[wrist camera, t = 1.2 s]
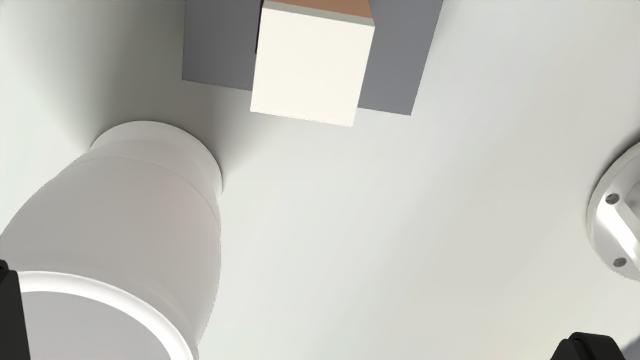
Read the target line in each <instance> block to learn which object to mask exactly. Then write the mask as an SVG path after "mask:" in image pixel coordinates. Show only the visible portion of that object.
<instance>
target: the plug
mask: <svg viewBox="0 0 640 360" xmlns="http://www.w3.org/2000/svg"><path fill="white" fill-rule="evenodd" d="M374 29H375V25H374V21H373V17H372V14H371V10H370V6H369V2H368V0H264V4H263V7H262V14H261V22H260V31H259V40H258V48H257V57H256V65H255V74H254V82H253V91H252V100H251V108H250V111H252V112H258V113H265V114H271V115H278V116H284V117H291V118H297V119H304V120H310V121H317V122H323V123H330V124H336V125H343V126H349V127H353V123H354V118H355V114H356V109H357V105H358V100H359V96H360V92H361V87H362V83H363V78H364V74H365V69H366V65H367V60H368V56H369V52H370V47H371V43H372V38H373V34H374Z"/></svg>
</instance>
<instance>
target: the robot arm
mask: <svg viewBox="0 0 640 360" xmlns="http://www.w3.org/2000/svg"><path fill="white" fill-rule="evenodd" d="M586 226H587V232H588V237H589V240H590V242H591V244H592V246H593V248H594V250H595V251H596V253H597V254H598V256H599V257H600V259H601V260H602V262H603V263H604V264H605V265H606V266H607V267H608V268H609V269H611V270H612V271H614V272H616V273H617V274H619V275H621V276H623V277H625V278H628V279H631V280H634V281H637V282H640V142H638V143H637V144H636V145H634V146H633V147H631V148H630V149H628V150H627V151H626V152H625V153H624V154H623V155H622V156H621V157H620V158H618V159H617V160H616V161H615V162H614V163H613V164H612V166H611V167H610V168H609V169H608V170H607V172H606V173H605V174H604V175H603V177H602V178H601V179H600V181H599V183H598V185H597V187H596V188H595V190H594V192H593V194H592V197H591V200H590V203H589V206H588V209H587V219H586ZM0 360H31V357H30V350H29V344H28V337H27V330H26V324H25V317H24V310H23V304H22V297H21V290H20V284H19V277H18V273H17V272H16V270H9V267H8V264H7V262H6V261H5V260H1V259H0ZM550 360H625V358H624V357H623V355H622V353H621V351H620V349H619V347H618V346H617V344H616V342H615V341H614V340H613V338H611V337H609V336H606V335H598V334H590V333H582V332H575V333H573V334H571V336H570V337H569V338H568V339H563V340H562V341H561V342H560V343H559V345H558V347H557V349H556V350H555V352H554V354H553V356H552V358H551V359H550Z"/></svg>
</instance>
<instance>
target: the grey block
mask: <svg viewBox="0 0 640 360" xmlns="http://www.w3.org/2000/svg"><path fill="white" fill-rule="evenodd" d="M368 2H369V6H370V10H371V14H372V17H373V21H374V25H375V29H374V34H373V38H372V43H371V47H370V52H369V56H368V60H367V65H366V69H365V74H364V78H363V83H362V87H361V92H360V96H359V100H358V105H357V107H359V108H365V109H372V110H378V111H384V112H391V113H397V114H403V115H410V116H411V112H412V109H413V105H414V102H415V98H416V95H417V91H418V87H419V84H420V80H421V77H422V73H423V70H424V66H425V63H426V59H427V55H428V52H429V48H430V45H431V41H432V38H433V34H434V31H435V27H436V23H437V20H438V16H439V13H440V9H441V6H442V2H443V0H368ZM263 4H264V0H186V4H185V26H184V48H183V70H182V80H187V81H193V82H200V83H206V84H213V85H219V86H225V87H232V88H238V89H244V90H251V91H253V82H254V74H255V65H256V57H257V48H258V40H259V31H260V22H261V14H262V7H263Z"/></svg>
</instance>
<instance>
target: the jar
mask: <svg viewBox="0 0 640 360" xmlns="http://www.w3.org/2000/svg"><path fill="white" fill-rule="evenodd" d="M221 194H222V177H221V173H220V170H219V167H218V165H217V162H216V161H215V159H214V157H213V156H212V154H211V153H210V152H209V150H208V149H207V148H206V147H205V146H204V145H203V144H202V143H201V142H200V141H199V140H197V139H196V138H195V137H193V136H192V135H190V134H189V133H187V132H185V131H183V130H181V129H179V128H177V127H174V126H171V125H168V124H165V123H161V122H154V121H133V122H127V123H123V124H120V125H117V126H115V127H113V128H111V129H109V130H107V131H106V132H104V133H103V134H102V135H100V136H99V137H98V138H97V139H96V141H95V142H94V143H93V145H92V146H91V148H90V150H89V152H87V153H85V154H83V155H82V156H80V157H79V158H77V159H76V160H74V161H73V162H72V163H70V164H69V165H68V166H67V167H66V168H64V169H63V170H62V171H61V172H60V173H59V174H58V175H57V176H56V177H54V178H53V179H52V180H50V181H49V182H48V183H46V184H45V185H44V186H43V187H41V188H40V189H39V190H38V191H37V192H36V193H35V194H34V195H33V196H32V197H31V198H30V199H29V200H28V201H27V202H26V203H25V204H24V205H23V206H22V207H21V208H20V209H19V211H18V212H17V213H16V214H15V216H14V217H13V218H12V219H11V221H10V222H9V224H8V225H7V226H6V228H5V229H4V231H3V233H2V234H1V236H0V259H1V260H5V261H6V262H7V264H8V267H9V270H16V272H17V273H18V277H19V284H20V290H21V297H22V304H23V310H24V317H25V324H26V330H27V337H28V344H29V350H30V357H31V360H199V354H198V348H197V346H198V344H199V342H200V340H201V337H202V335H203V333H204V331H205V328H206V326H207V323H208V321H209V318H210V315H211V312H212V309H213V306H214V302H215V299H216V294H217V290H218V284H219V278H220V268H221V244H220V232H221V224H220V212H219V207H218V204H219V201H220V198H221Z"/></svg>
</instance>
